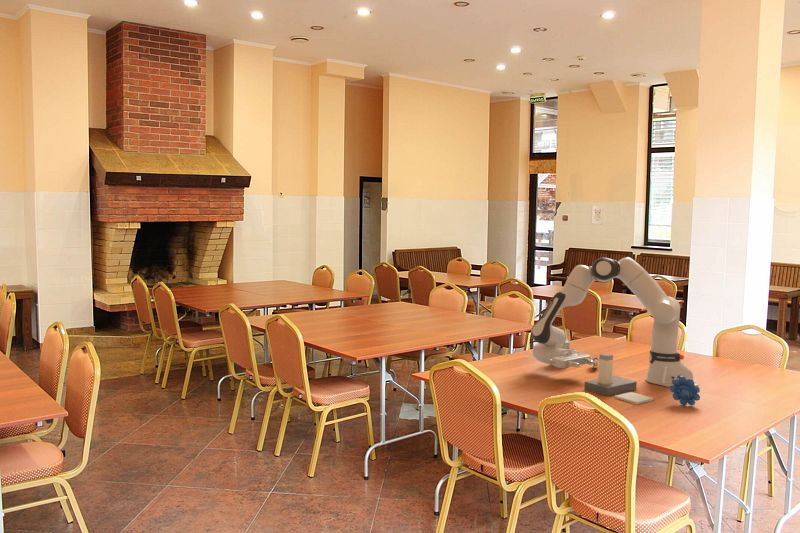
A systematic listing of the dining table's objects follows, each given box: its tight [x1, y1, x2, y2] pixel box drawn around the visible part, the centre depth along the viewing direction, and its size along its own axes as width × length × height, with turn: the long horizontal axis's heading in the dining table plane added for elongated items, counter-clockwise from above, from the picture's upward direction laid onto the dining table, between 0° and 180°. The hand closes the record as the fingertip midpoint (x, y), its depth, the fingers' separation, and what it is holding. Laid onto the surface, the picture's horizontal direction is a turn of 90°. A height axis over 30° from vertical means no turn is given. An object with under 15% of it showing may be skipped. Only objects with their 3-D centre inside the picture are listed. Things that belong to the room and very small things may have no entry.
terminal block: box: [584, 375, 638, 397], centre depth 299 cm, size 20×12×4 cm, turn 125°
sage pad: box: [614, 391, 654, 405], centre depth 284 cm, size 11×11×1 cm
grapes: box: [669, 376, 701, 406], centre depth 276 cm, size 12×7×12 cm, turn 70°
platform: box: [591, 354, 599, 371], centre depth 336 cm, size 12×18×7 cm, turn 161°
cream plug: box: [597, 352, 614, 385], centre depth 296 cm, size 4×4×16 cm
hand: (585, 364), depth 305 cm, fingers open, 8 cm apart
